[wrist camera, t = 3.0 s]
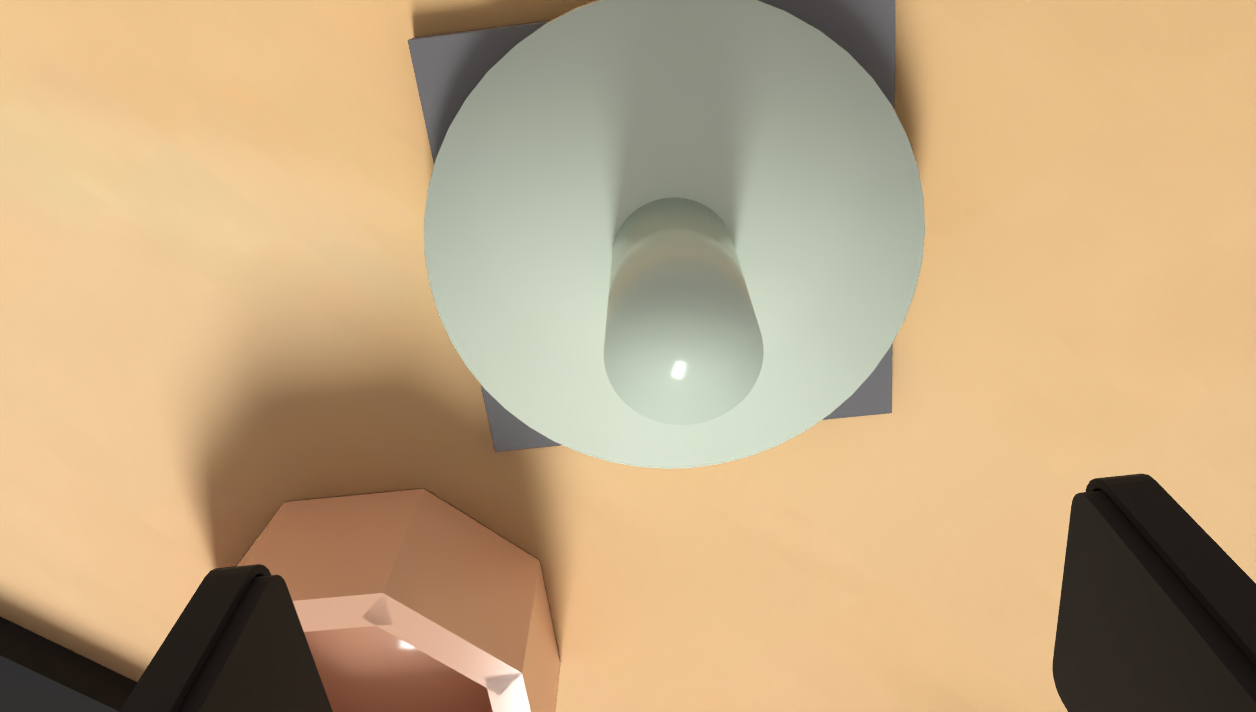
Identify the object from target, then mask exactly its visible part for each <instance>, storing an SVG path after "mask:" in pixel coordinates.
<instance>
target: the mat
mask: <svg viewBox="0 0 1256 712" xmlns="http://www.w3.org/2000/svg"><path fill="white" fill-rule="evenodd" d="M759 1H761V2H764V3H767V4H769V5H772V6H774V7H777V8H779V9H782V10H784V11H786V12H788V13H790V14H791V15H793V16H795V17H797V18H798V19H800V20H802V21H804V22H806V23H807V24H809V25H811V26H813V27H814V28H816V29H818V30H820V31H821V32H822V33H824V34H825V35H826V36H827V37H829V38H830V39H831V40H833V41H834V42H835V43H837V44H838V45H839V46H840V47H842V48H843V49H844V50H846V51H847V52H848V53H849V54H850V55H851V56H852V57H853V58H854V59H855V60H856V61H857V62H858V63H859V64H860V65H861V67H862V68H863V69H864V70H865V71H866V72H867V73H868V74H869V75H870V76H871V77H872V78H873V80H874V81H875V82H876V84H877V85H878V87H879V88H880V89H881V91H882V92H883V94H884V95H885V96H886V98H887V99H888V101H889V102H890V103H891V105H892V107H893V109H894V90H895V0H759ZM550 21H551V20H550ZM547 22H549V21H542V22H534V23H527V24H519V25H511V26H503V27H495V28H487V29H479V30H471V31H464V32H456V33H448V34H440V35H432V36H424V37H416V38H412V39H410V40H408V44H409V49H410V53H411V58H412V63H413V67H414V72H415V77H416V82H417V86H418V91H419V96H420V100H421V105H422V110H423V114H424V119H425V124H426V128H427V133H428V138H429V143H430V147H431V152H432V157H433V161H434V164H435V160H436V157H437V155H438V153H439V150H440V148H441V145H442V143H443V141H444V138H445V136H446V133H447V131H448V129H449V127H450V125H451V123H452V122H453V120H454V118H455V117H456V115H457V113H458V112H459V110H460V108H461V107H462V105H463V103H464V101H465V100H466V98H467V97H468V96H469V95H470V93H471V92H472V91H473V90H474V88H475V87H476V86H477V85H478V83H479V82H480V81H481V79H482V78H483V77H484V76H485V74H486V73H487V72H488V71H489V70H490V69H491V68H492V67H493V66H494V65H495V64H496V63H498V62H499V61H500V60H501V59H502V58H503V57H504V56H505V55H506V54H507V53H508V52H509V51H510V50H511V49H512V48H513V47H515V46H516V45H517V44H518V43H519V42H520V41H522V40H523V39H525V38H526V37H527V36H529V35H530V34H532V33H533V32H534V31H536V30H537V29H539V28H540V27H541V26H543V25H544V24H546V23H547ZM481 387H482V392H483V396H484V401H485V406H486V410H487V415H488V420H489V424H490V429H491V434H492V438H493V443H494V448H495V452H499V451H509V450H519V449H529V448H539V447H550V446H560V445H561V444H559V443H557V442H554V441H553V440H551V439H549V438H547V437H546V436H544V435H542V434H541V433H539V432H537V431H535V430H534V429H532V428H530V427H529V426H527V425H526V424H525V423H523V422H522V421H521V420H519V419H518V418H517V417H515V416H514V415H513V414H511V413H510V412H509V411H507V410H506V409H505V408H504V407H503V406H502V405H501V404H500V403H499V402H498V401H497V400H496V399H495V398H494V397H493V396H492V395H490V394H489V393H488V392H487V391H486V390H485V389H484V387H483V386H482V385H481ZM886 413H892V344H891V346H890V348H889V349H888V351H887V352H886V354H885V355H884V357H883V358H882V359H881V361H880V362H879V364H878V365H877V367H876V368H875V369H874V371H873V372H872V373H871V374H870V376H869V377H868V378H867V379H866V380H865V381H864V382H863V383H862V384H861V386H860V387H859V388H858V389H857V390H856V391H855V392H854V393H853V394H852V395H851V396H850V397H849V398H848V399H847V400H846V401H844V402H843V403H842V404H841V405H840V406H839V407H838V408H836V409H835V410H834V411H833V412H832V413H831V414H829V415H828V416H827V417H825V418H824V419H822V420H825V419H835V418H845V417H855V416H866V415H876V414H886Z"/></svg>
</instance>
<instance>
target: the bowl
mask: <svg viewBox="0 0 1256 712" xmlns="http://www.w3.org/2000/svg"><path fill="white" fill-rule="evenodd" d="M256 564H261V565H265V566H266V567H267V568H268V569H269V571H270V573H271V575H280V576H281V577H282V578H283V579H284V580H285V582H286V584H287V587H288V590H289V593H290V595H291V598H292V601H293V604H294V606H295V609H296V612H297V615H298V617H299V620H300V623H301V626H302V628H303V631H304V634H305V637H306V639H307V642H308V645H309V648H310V650H311V653H312V656H313V659H314V661H315V664H316V667H317V670H318V672H319V675H320V678H321V681H322V683H323V686H324V689H325V692H326V694H327V697H328V700H329V703H330V705H331V708H332V711H333V712H555V711H556V701H557V692H558V682H559V673H560V660H559V655H558V650H557V645H556V640H555V635H554V630H553V625H552V620H551V615H550V610H549V605H548V600H547V595H546V590H545V585H544V580H543V575H542V570H541V565H540V561H539V560H538V559H536V558H534V557H533V556H531V555H530V554H528V553H526V552H525V551H523V550H521V549H520V548H518V547H517V546H515V545H513V544H512V543H510V542H509V541H507V540H505V539H504V538H502V537H501V536H499V535H497V534H496V533H494V532H492V531H491V530H489V529H488V528H486V527H484V526H483V525H481V524H480V523H478V522H476V521H475V520H473V519H471V518H470V517H468V516H467V515H465V514H463V513H462V512H460V511H459V510H457V509H455V508H454V507H452V506H451V505H449V504H447V503H446V502H444V501H442V500H441V499H439V498H438V497H436V496H434V495H433V494H431V493H430V492H428V491H426V490H425V489H415V490H405V491H394V492H384V493H373V494H363V495H353V496H342V497H332V498H321V499H311V500H300V501H290V502H284V503H283V504H282V506H281V507H280V508H279V510H278V511H277V513H276V514H275V515H274V517H273V518H272V519H271V521H270V522H269V523H268V525H267V526H266V527H265V529H264V530H263V531H262V533H261V534H260V535H259V537H258V538H257V539H256V541H255V542H254V543H253V545H252V546H251V547H250V549H249V550H248V551H247V553H246V554H245V555H244V557H243V558H242V559H241V561H240V562H239V563H238V565H237V566H246V565H256Z"/></svg>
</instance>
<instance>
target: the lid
mask: <svg viewBox="0 0 1256 712" xmlns="http://www.w3.org/2000/svg"><path fill="white" fill-rule="evenodd" d="M924 235H925V219H924V198H923V192H922V187H921V182H920V176H919V171H918V166H917V163H916V160H915V157H914V154H913V151H912V148H911V145H910V142H909V140H908V137H907V134H906V132H905V130H904V128H903V126H902V124H901V122H900V120H899V118H898V116H897V115H896V113H895V111H894V109H893V107H892V105H891V103H890V102H889V101H888V99H887V98H886V96H885V95H884V94H883V92H882V91H881V89H880V88H879V87H878V85H877V84H876V82H875V81H874V80H873V78H872V77H871V76H870V75H869V74H868V73H867V72H866V71H865V70H864V69H863V68H862V67H861V65H860V64H859V63H858V62H857V61H856V60H855V59H854V58H853V57H852V56H851V55H850V54H849V53H848V52H847V51H846V50H844V49H843V48H842V47H840V46H839V45H838V44H837V43H835V42H834V41H833V40H831V39H830V38H829V37H827V36H826V35H825V34H824V33H822V32H821V31H820V30H818V29H816V28H814V27H813V26H811V25H809V24H807V23H806V22H804V21H802V20H800V19H798V18H797V17H795V16H793V15H791V14H790V13H788V12H786V11H784V10H782V9H779V8H777V7H774V6H772V5H769V4H767V3H764V2H761V1H759V0H595V1H592V2H589V3H586V4H584V5H581V6H578V7H576V8H574V9H572V10H570V11H568V12H566V13H564V14H562V15H561V16H559V17H557V18H555V19H553V20H551V21H549V22H547V23H546V24H544V25H543V26H541V27H540V28H539V29H537V30H536V31H534V32H533V33H532V34H530V35H529V36H527V37H526V38H525V39H523V40H522V41H520V42H519V43H518V44H517V45H516V46H515V47H513V48H512V49H511V50H510V51H509V52H508V53H507V54H506V55H505V56H504V57H503V58H502V59H501V60H500V61H499V62H498V63H496V64H495V65H494V66H493V67H492V68H491V69H490V70H489V71H488V72H487V73H486V74H485V76H484V77H483V78H482V79H481V81H480V82H479V83H478V85H477V86H476V87H475V88H474V90H473V91H472V92H471V93H470V95H469V96H468V97H467V98H466V100H465V101H464V103H463V105H462V107H461V108H460V110H459V112H458V113H457V115H456V117H455V118H454V120H453V122H452V123H451V125H450V127H449V129H448V131H447V133H446V136H445V138H444V141H443V143H442V145H441V148H440V150H439V153H438V155H437V157H436V160H435V164H434V168H433V172H432V176H431V180H430V183H429V187H428V192H427V200H426V209H425V218H424V248H425V259H426V265H427V272H428V278H429V284H430V288H431V291H432V294H433V298H434V301H435V304H436V308H437V311H438V314H439V316H440V318H441V321H442V323H443V325H444V327H445V329H446V332H447V334H448V336H449V338H450V341H451V342H452V344H453V345H454V347H455V349H456V350H457V352H458V354H459V355H460V357H461V358H462V360H463V362H464V363H465V365H466V366H467V368H468V369H469V370H470V371H471V373H472V374H473V375H474V376H475V378H476V379H477V380H478V381H479V383H480V384H481V385H482V386H483V387H484V389H485V390H486V391H487V392H488V393H489V394H490V395H492V396H493V397H494V398H495V399H496V400H497V401H498V402H499V403H500V404H501V405H502V406H503V407H504V408H505V409H506V410H507V411H509V412H510V413H511V414H513V415H514V416H515V417H517V418H518V419H519V420H521V421H522V422H523V423H525V424H526V425H527V426H529V427H530V428H532V429H534V430H535V431H537V432H539V433H541V434H542V435H544V436H546V437H547V438H549V439H551V440H553V441H554V442H557V443H559V444H561V445H564V446H566V447H568V448H570V449H573V450H575V451H577V452H580V453H583V454H586V455H589V456H592V457H596V458H599V459H602V460H605V461H609V462H614V463H620V464H625V465H631V466H636V467H649V468H663V469H671V468H695V467H702V466H708V465H715V464H721V463H726V462H730V461H733V460H737V459H741V458H745V457H748V456H752V455H755V454H757V453H760V452H762V451H765V450H767V449H770V448H772V447H775V446H778V445H780V444H782V443H784V442H786V441H787V440H789V439H791V438H793V437H795V436H797V435H799V434H801V433H803V432H804V431H806V430H808V429H809V428H810V427H812V426H813V425H815V424H816V423H818V422H819V421H821V420H822V419H824V418H825V417H827V416H828V415H829V414H831V413H832V412H833V411H834V410H835V409H836V408H838V407H839V406H840V405H841V404H842V403H843V402H844V401H846V400H847V399H848V398H849V397H850V396H851V395H852V394H853V393H854V392H855V391H856V390H857V389H858V388H859V387H860V386H861V384H862V383H863V382H864V381H865V380H866V379H867V378H868V377H869V376H870V374H871V373H872V372H873V371H874V369H875V368H876V367H877V365H878V364H879V362H880V361H881V359H882V358H883V357H884V355H885V354H886V352H887V351H888V349H889V348H890V346H891V344H892V343H893V341H894V339H895V337H896V335H897V333H898V331H899V329H900V327H901V326H902V324H903V322H904V320H905V317H906V314H907V312H908V309H909V306H910V304H911V301H912V298H913V296H914V293H915V290H916V285H917V281H918V277H919V272H920V268H921V264H922V257H923V246H924Z"/></svg>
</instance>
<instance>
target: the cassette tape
mask: <svg viewBox="0 0 1256 712" xmlns="http://www.w3.org/2000/svg"><path fill="white" fill-rule="evenodd" d="M14 638H15V639H14ZM16 639H17V640H16ZM18 640H19V641H18ZM35 648H36V649H35ZM37 649H38V650H37ZM39 650H40V651H39ZM56 658H57V659H56ZM58 659H59V660H58ZM60 660H61V661H60ZM79 669H80V670H79ZM81 670H82V671H81ZM100 679H101V680H100ZM102 680H103V681H102ZM136 684H137V682H135V681H133V680H131V679H129V678H127V677H125V676H123V675H121V674H119V673H116V672H114V671H112V670H110V669H108V668H106V667H104V666H102V665H100V664H98V663H96V662H94V661H92V660H89V659H87V658H85V657H83V656H81V655H79V654H77V653H75V652H73V651H71V650H69V649H67V648H65V647H63V646H60V645H58V644H56V643H54V642H52V641H50V640H48V639H46V638H44V637H42V636H40V635H38V634H36V633H33V632H31V631H29V630H27V629H25V628H23V627H21V626H19V625H17V624H15V623H13V622H11V621H9V620H6V619H4V618H2V617H0V712H119V711H120V709H121V708H122V706H123V705H124V703H125V701H126V700H127V698H128V697H129V695H130V694H131V692H132V690H133V689H134V687H135V686H136ZM121 689H122V690H121ZM123 690H124V691H123ZM125 691H126V692H125Z"/></svg>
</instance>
